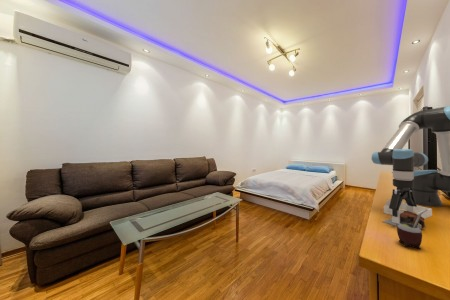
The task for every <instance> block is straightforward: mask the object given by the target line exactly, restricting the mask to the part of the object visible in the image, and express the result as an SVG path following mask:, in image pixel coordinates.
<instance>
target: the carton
mask: <svg viewBox="0 0 450 300" xmlns="http://www.w3.org/2000/svg"><path fill="white" fill-rule="evenodd" d="M390 201H391V198H390V199H386V205H383V214H387V215H390V216H392V209H389V205H390ZM406 205H407V203H406V202H403V201H402V203H401V205H400V208H399V210H400V214H401V213H403V212H404V211H406ZM413 207H414V213H415V214H417V215H418V214H420V213H421V212H423V211H425V210H427V211H426V212H424V213H423V214H422V215H421V217H423V218H424V219H427V218H430V217H433V208H430V207H427V206H425V207H424V206H422V205H417V206H416V207H415V206H413Z"/></svg>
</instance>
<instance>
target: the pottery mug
mask: <svg viewBox="0 0 450 300" xmlns="http://www.w3.org/2000/svg"><path fill="white" fill-rule="evenodd" d="M415 213H416V212H414V213H412V212H409V211H406V210H405V211H404V212H403V213H401V214H400V223H409V224H413V225H414V224H415V222H416V219H417V217H418V215H417V214H415ZM425 219H426V218H425ZM425 219H424V218H423V217H420V218H419V220H418V223H417V225H418V224H419V225H422V226H421V227H422V229H424V227H425V226H426V225H425ZM396 224H398V223H396ZM417 225H416V226H417ZM425 228H426V227H425Z"/></svg>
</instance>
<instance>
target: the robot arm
mask: <svg viewBox="0 0 450 300" xmlns="http://www.w3.org/2000/svg"><path fill="white" fill-rule="evenodd" d="M423 129H431V133H432V134H433V133H434V134H435V135H436V141H437V142H436V143H437V146H438V153H439V158H440V162H441V168H442V169H441V170H439V171H438V170H437V169H420V170H419V169H417V170H414V167H415V168H418V167H419V168H420V167H423V166H425V165H427V163H428V162H429V157H428V156H427V155H426V154H425V153H422V152H418V151H417V152H416V151H414V150H413V149H412V148H411V149H410V148H406V149H405V148H404V147H405V146H406V144H407V143H408V142H409V140H410V139H411V138H412V136H413V135H414V134H417V133H418V132H419V131H420V130H423ZM371 161H372V163H374V164H375V165H381V166H382V165H383V166H392V171H391V174H392V178H393V179H392V187H396V189H395V188H394V189H392V194H391V198H390V199H391V201H390V205H389V209H392V215H391V219H392V222H394V223H398V224H400V210H399V208H400V205H401V203H402V202H403V201H404V200H405V203H407V205H406V210H405V211H409V212H412V213H415V212H414V207H413V206H415V207H416V206H423V207H424V206H425V207H435V208H439V207H442V206H443V202H442V200H441V198H440V195H439V191H441V192H446V193H447V192H448V193H450V105H449V106H448V105H447V106H443V107H435V108H430V109H422V110H420V111H416V112H414V113H412V114H410V115H408V116H407V117H406V118H404V119H403V120H402V121H401V122H400V123H399V125H398V129H397V130H396V131H395V133H394V134H393V136H392V137H391V138H390V139H389V140H388V142H387V143H386V145H384V147H383V148H382V149H381V150H380V151H376V152H373V153H372V154H371Z"/></svg>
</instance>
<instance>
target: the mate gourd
mask: <svg viewBox="0 0 450 300" xmlns="http://www.w3.org/2000/svg"><path fill="white" fill-rule="evenodd" d="M426 211H427V210H425V211H423V212H421V213H420V214H418V217H417V219H416V222H415V224H414V225H413V224H409V223H400V224H399V225H398V227H397V226H396V233H397V236H398V239H399V240H398V242H399V243H402V244H404V245H403V247H404V248H409V247H412V248H415V249H418V250H421V244H422V239H423V234H422V230H421V229H419V227H417V226H416V225H417V223H418V220H419V218H420V217H421V215H422V214H423V213H424V212H426Z"/></svg>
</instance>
